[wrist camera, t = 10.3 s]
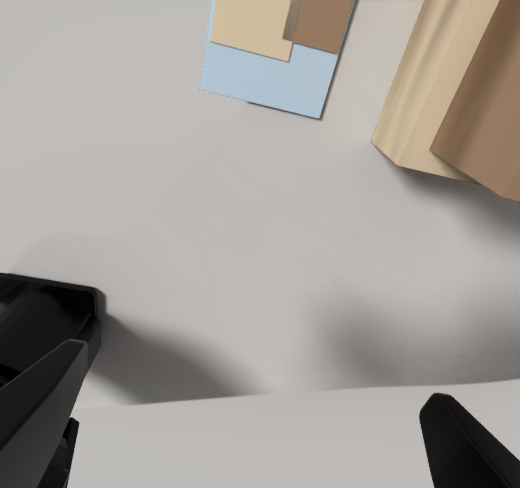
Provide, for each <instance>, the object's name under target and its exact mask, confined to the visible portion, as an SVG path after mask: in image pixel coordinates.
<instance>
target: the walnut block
mask: <svg viewBox="0 0 520 488" xmlns="http://www.w3.org/2000/svg"><path fill="white" fill-rule="evenodd" d="M429 150H431V151H432V152H434V153H435V154H437V155H438V156H440V157H441V158H443V159H444V160H446V161H447V162H449V163H450V164H452V165H453V166H455V167H456V168H458V169H459V170H461V171H462V172H464V173H466V174H467V175H469V176H470V177H472V178H473V179H475V180H476V181H478V182H479V183H481V184H482V185H484V186H485V187H487V188H488V189H490V190H491V191H493V192H494V193H496V194H497V195H499V196H500V197H503V198H507V199H512V200H516V201H520V0H499V2H498V4H497V7H496V9H495V11H494V13H493V15H492V17H491V19H490V21H489V23H488V26H487V28H486V30H485V32H484V34H483V36H482V38H481V40H480V42H479V45H478V47H477V49H476V51H475V53H474V55H473V57H472V59H471V61H470V64H469V66H468V68H467V70H466V72H465V74H464V76H463V78H462V81H461V83H460V85H459V87H458V89H457V91H456V93H455V95H454V97H453V100H452V102H451V104H450V106H449V108H448V110H447V112H446V114H445V116H444V119H443V121H442V123H441V125H440V127H439V129H438V131H437V133H436V135H435V138H434V140H433V142H432V144H431V146H430V148H429Z"/></svg>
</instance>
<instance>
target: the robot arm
mask: <svg viewBox="0 0 520 488" xmlns="http://www.w3.org/2000/svg"><path fill="white" fill-rule="evenodd" d="M86 294H88V295H89V296H87V295H86ZM100 345H101V320H100V318H99V317H97V293H96V291H95V290H94V289H92V288H90V287H84V286H78V285H72V284H66V283H60V282H54V281H48V280H42V279H36V278H30V277H24V276H18V275H12V274H6V273H0V488H67V484H68V479H69V474H70V469H71V463H72V458H73V453H74V448H75V443H76V438H77V433H78V427H79V422H78V421H77V420H75V419H74V418H72V417H71V418H69V417H70V415H71V412H72V409H73V407H74V404H75V402H76V399H77V396H78V394H79V391H80V388H81V386H82V383H83V380H84V378H85V376H86V374H87V372H88V370H89V368H90V366H91V364H92V362H93V360H94V359H95V357H96V354H97V352H98V350H99V348H100ZM419 418H420V424H421V429H422V434H423V439H424V443H425V448H426V453H427V457H428V463H429V467H430V472H431V476H432V480H433V484H434V488H520V461H519V460H518V459H517V458H516V457H515V456H514V455H513V454H512V453H511V452H510V451H509V450H508V449H507V448H506V447H505V446H503V444H501V443H500V442H499V441H498V440H497V439H496V438H495V437H494V436H493V435H492V434H491V433H490V432H489V431H488V430H487V429H486V428H485V427H484V426H483V425H482V424H481V423H479V422H478V421H477V420H476V419H475V418H474V417H473V416H472V415H471V414H470V413H469V412H468V411H467V410H466V409H465V408H464V407H463V406H462V405H461V404H460V403H459V402H458V401H456V400H455V399H454V398H453V397H452V396H451V395H448V394H443V393H434V394H432V395H431V397H430V398H429V399H428V401H427V402H426V404H425V405H424V406H423V407H422V409H421V411H420V415H419Z"/></svg>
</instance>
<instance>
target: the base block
mask: <svg viewBox="0 0 520 488" xmlns="http://www.w3.org/2000/svg"><path fill="white" fill-rule="evenodd" d="M498 2H499V0H425V1H424V4H423V6H422V9H421V12H420V14H419V17H418V19H417V22H416V24H415V27H414V30H413V32H412V35H411V37H410V40H409V43H408V45H407V48H406V50H405V53H404V56H403V58H402V61H401V63H400V66H399V68H398V71H397V74H396V76H395V79H394V81H393V84H392V87H391V89H390V92H389V94H388V97H387V100H386V102H385V105H384V107H383V110H382V112H381V115H380V118H379V120H378V123H377V125H376V128H375V131H374V133H373V136H372V138H371V142H372V143H373V144H374V145H375V146H377V147H378V148H379V149H380V150H381V151H382V152H383V153H384V154H385V155H386V156H387V157H389V158H390V159H391V160H392V161H393V162H394V163H395V164H396V165H397V166H402V167H406V168H410V169H415V170H419V171H423V172H428V173H432V174H436V175H440V176H445V177H449V178H453V179H458V180H462V181H466V182H471V183H475V184H479V185H482V184H481V183H479V182H478V181H476V180H475V179H473V178H472V177H470V176H469V175H467V174H466V173H464V172H462V171H461V170H459V169H458V168H456V167H455V166H453V165H452V164H450V163H449V162H447V161H446V160H444V159H443V158H441V157H440V156H438V155H437V154H435V153H434V152H432V151H431V150H429V148H430V146H431V144H432V142H433V140H434V138H435V135H436V133H437V131H438V129H439V127H440V125H441V123H442V121H443V119H444V116H445V114H446V112H447V110H448V108H449V106H450V104H451V102H452V100H453V97H454V95H455V93H456V91H457V89H458V87H459V85H460V83H461V81H462V78H463V76H464V74H465V72H466V70H467V68H468V66H469V64H470V61H471V59H472V57H473V55H474V53H475V51H476V49H477V47H478V45H479V42H480V40H481V38H482V36H483V34H484V32H485V30H486V28H487V26H488V23H489V21H490V19H491V17H492V15H493V13H494V11H495V9H496V7H497V4H498ZM483 186H484V185H483Z"/></svg>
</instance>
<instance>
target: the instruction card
mask: <svg viewBox="0 0 520 488" xmlns="http://www.w3.org/2000/svg"><path fill="white" fill-rule="evenodd" d="M354 2H355V0H211V5H210V13H209V20H208V28H207V35H206V43H205V51H204V58H203V66H202V73H201V81H200V88H199V89H200V90H204V91H208V92H212V93H216V94H220V95H224V96H228V97H232V98H236V99H241V100H245V101H249V102H253V103H257V104H261V105H265V106H269V107H273V108H278V109H282V110H286V111H290V112H294V113H298V114H302V115H306V116H310V117H315V118H320V114H321V111H322V108H323V105H324V101H325V98H326V95H327V91H328V88H329V85H330V81H331V78H332V75H333V72H334V68H335V65H336V62H337V58H338V55H339V52H340V49H341V45H342V42H343V39H344V35H345V32H346V29H347V26H348V22H349V19H350V16H351V12H352V9H353V6H354Z"/></svg>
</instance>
